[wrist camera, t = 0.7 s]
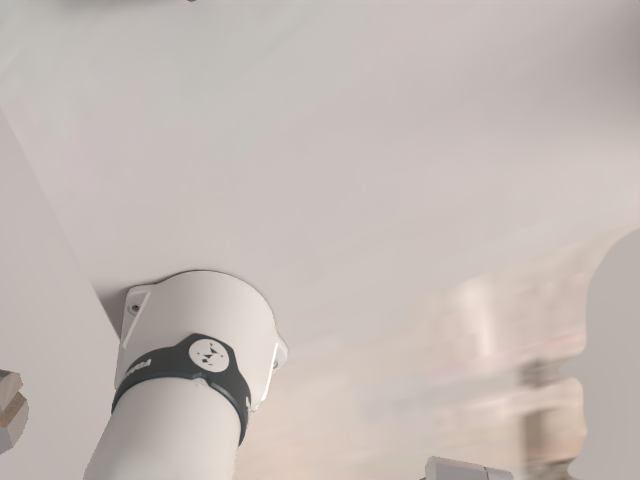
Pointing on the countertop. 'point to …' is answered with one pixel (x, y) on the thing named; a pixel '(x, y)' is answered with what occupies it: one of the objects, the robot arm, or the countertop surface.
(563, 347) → the countertop surface
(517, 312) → the countertop surface
